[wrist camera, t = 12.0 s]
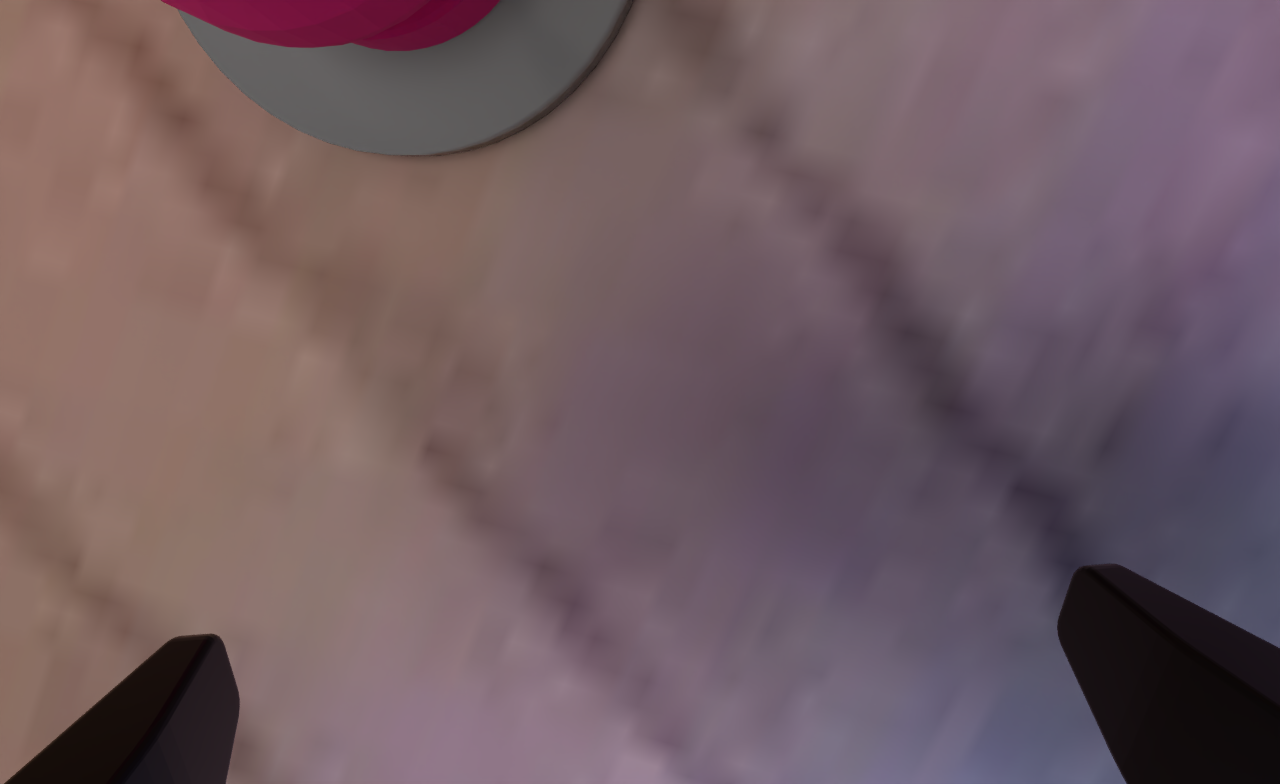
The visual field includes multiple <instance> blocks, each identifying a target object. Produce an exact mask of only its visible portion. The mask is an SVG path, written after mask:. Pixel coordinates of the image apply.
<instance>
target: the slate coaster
mask: <svg viewBox="0 0 1280 784" xmlns="http://www.w3.org/2000/svg"><path fill="white" fill-rule="evenodd" d="M632 2H633V0H500V1H499V2H498V3H497V4H496V6H495V7H494V8H493V9H492V10H491V11H490V12H489V13H488V14H487V15H486V16H485V17H484V18H482V19H481V20H480V21H479V22H478V23H477V24H476V25H474V26H473V27H471V28H469V29H468V30H466V31H465V32H463V33H462V34H460V35H458V36H456V37H454V38H452V39H450V40H448V41H446V42H444V43H441V44H438V45H434V46H431V47H428V48H423V49H417V50H411V51H384V50H378V49H372V48H368V47H364V46H361V45H357V44H354V43H348V44H344V45H338V46H327V47H316V48H296V47H283V46H277V45H271V44H265V43H259V42H255V41H252V40H249V39H247V38H244V37H241V36H238V35H235V34H232V33H229V32H226V31H224V30H222V29H220V28H218V27H215V26H213V25H211V24H209V23H207V22H205V21H203V20H201V19H198V18H196V17H194V16H192V15H190V14H188V13H186V12H183V11H181V10H179V9H178V11H179V13H180V15H181V16H182V18H183V20H184V21H185V23H186V24H187V26H188V28H189V29H190V31H191V32H192V34H193V35H194V37H195V39H196V40H197V42H198V43H199V45H200V46H201V47H202V48H203V50H204V51H205V52H206V53H207V55H208V56H209V57H210V58H211V60H212V61H213V62H214V63H215V64H216V66H217V67H218V68H219V69H220V71H221V72H222V73H223V74H224V75H225V76H226V77H228V78H229V79H230V80H231V81H232V82H233V83H234V84H235V85H236V86H237V87H238V88H239V89H240V90H241V91H242V92H243V93H244V94H245V95H246V96H248V97H249V98H250V99H251V100H253V101H254V102H255V103H257V104H258V105H259V106H261V107H262V108H263V109H264V110H266V111H267V112H268V113H270V114H271V115H273V116H275V117H276V118H278V119H280V120H281V121H283V122H285V123H287V124H288V125H290V126H292V127H293V128H295V129H297V130H299V131H301V132H303V133H306V134H308V135H310V136H313V137H315V138H318V139H320V140H322V141H325V142H327V143H331V144H334V145H338V146H342V147H345V148H349V149H353V150H356V151H363V152H371V153H379V154H387V155H401V156H440V155H446V154H453V153H459V152H465V151H470V150H473V149H476V148H480V147H483V146H486V145H489V144H492V143H496V142H498V141H500V140H502V139H504V138H507V137H509V136H511V135H513V134H515V133H517V132H519V131H521V130H524V129H525V128H527V127H528V126H530V125H531V124H533V123H534V122H536V121H537V120H539V119H540V118H542V117H543V116H545V115H547V114H548V113H550V112H551V111H552V110H553V109H554V108H555V107H557V106H558V105H559V104H560V103H561V102H562V101H563V100H565V99H566V98H567V97H568V96H569V95H570V94H571V93H573V92H574V91H575V90H576V88H577V87H578V86H579V85H580V84H581V83H582V82H583V81H584V79H585V78H586V77H587V76H588V75H589V74H590V73H591V71H592V70H593V69H594V68H595V67H596V66H597V64H598V63H599V61H600V60H601V58H602V57H603V55H604V54H605V52H606V51H607V49H608V48H609V46H610V45H611V43H612V42H613V40H614V39H615V37H616V35H617V33H618V31H619V29H620V27H621V25H622V23H623V21H624V19H625V17H626V15H627V13H628V11H629V9H630V7H631V5H632Z"/></svg>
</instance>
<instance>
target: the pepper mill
mask: <svg viewBox="0 0 1280 784" xmlns="http://www.w3.org/2000/svg"><path fill="white" fill-rule="evenodd" d="M161 1H162V2H164V3H166V4H168V5H171V6H173V7H175V8H177V9H179V10H181V11H183V12H186V13H188V14H190V15H192V16H194V17H196V18H198V19H201V20H203V21H205V22H207V23H209V24H211V25H213V26H215V27H218V28H220V29H222V30H224V31H226V32H229V33H232V34H235V35H238V36H241V37H244V38H247V39H249V40H252V41H255V42H259V43H265V44H271V45H277V46H283V47H296V48H316V47H327V46H338V45H344V44H348V43H354V44H357V45H361V46H364V47H368V48H372V49H378V50H384V51H411V50H417V49H423V48H428V47H431V46H434V45H438V44H441V43H444V42H446V41H448V40H450V39H452V38H454V37H456V36H458V35H460V34H462V33H463V32H465V31H466V30H468V29H469V28H471V27H473V26H474V25H476V24H477V23H478V22H479V21H480V20H481V19H482V18H484V17H485V16H486V15H487V14H488V13H489V12H490V11H491V10H492V9H493V8H494V7H495V6H496V4H497V3H498V2H499V1H500V0H161Z"/></svg>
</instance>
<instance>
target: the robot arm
mask: <svg viewBox="0 0 1280 784" xmlns="http://www.w3.org/2000/svg"><path fill="white" fill-rule="evenodd" d="M1057 630H1058V636H1059V640H1060V643H1061V646H1062V648H1063V650H1064V652H1065V655H1066V657H1067V659H1068V661H1069V663H1070V665H1071V668H1072V670H1073V672H1074V674H1075V676H1076V678H1077V681H1078V683H1079V685H1080V687H1081V689H1082V691H1083V694H1084V696H1085V698H1086V700H1087V702H1088V705H1089V707H1090V709H1091V711H1092V713H1093V715H1094V718H1095V720H1096V722H1097V724H1098V726H1099V728H1100V731H1101V733H1102V735H1103V737H1104V739H1105V741H1106V744H1107V746H1108V748H1109V750H1110V752H1111V754H1112V756H1113V758H1114V760H1115V762H1116V764H1117V766H1118V768H1119V770H1120V772H1121V774H1122V776H1123V778H1124V779H1125V781H1126V783H1127V784H1280V648H1278V647H1276V646H1274V645H1272V644H1270V643H1269V642H1267V641H1265V640H1263V639H1261V638H1259V637H1257V636H1255V635H1253V634H1251V633H1249V632H1247V631H1246V630H1244V629H1242V628H1240V627H1238V626H1236V625H1234V624H1232V623H1230V622H1228V621H1226V620H1224V619H1223V618H1221V617H1219V616H1217V615H1215V614H1213V613H1211V612H1209V611H1207V610H1205V609H1203V608H1201V607H1200V606H1198V605H1196V604H1194V603H1192V602H1190V601H1188V600H1186V599H1184V598H1182V597H1180V596H1178V595H1177V594H1175V593H1173V592H1171V591H1169V590H1167V589H1165V588H1163V587H1161V586H1159V585H1157V584H1155V583H1154V582H1152V581H1150V580H1148V579H1146V578H1144V577H1142V576H1140V575H1138V574H1136V573H1134V572H1132V571H1131V570H1129V569H1127V568H1125V567H1123V566H1121V565H1117V564H1098V565H1086V566H1082V567H1079V568H1078V569H1077V570H1076V571H1075V572H1074V574H1073V576H1072V579H1071V582H1070V585H1069V588H1068V591H1067V594H1066V597H1065V600H1064V603H1063V606H1062V609H1061V612H1060V615H1059V618H1058V625H1057ZM239 708H240V699H239V692H238V688H237V685H236V681H235V678H234V675H233V671H232V668H231V665H230V662H229V658H228V655H227V652H226V648H225V645H224V643H223V641H222V639H221V638H220V637H219V636H217V635H215V634H200V635H187V636H178V637H175V638H173V639H171V640H169V641H168V642H166V643H165V644H164V645H163V646H162V647H161V648H159V649H158V650H157V651H156V652H155V653H154V654H153V655H151V656H150V657H149V658H148V659H147V660H146V661H144V662H143V663H142V664H141V665H140V666H139V667H138V668H136V669H135V670H134V671H133V672H132V673H131V674H130V675H128V676H127V677H126V678H125V679H124V680H123V681H121V682H120V683H119V684H118V685H117V686H116V687H115V688H113V689H112V690H111V691H110V692H109V693H108V694H107V695H105V696H104V697H103V698H102V699H101V700H100V701H98V702H97V703H96V704H95V705H94V706H93V707H92V708H90V709H89V710H88V711H87V712H86V713H85V714H84V715H82V716H81V717H80V718H79V719H78V720H77V721H75V722H74V723H73V724H72V725H71V726H70V727H69V728H67V729H66V730H65V731H64V732H63V733H62V734H61V735H59V736H58V737H57V738H56V739H55V740H54V741H52V742H51V743H50V744H49V745H48V746H47V747H46V748H44V749H43V750H42V751H41V752H40V753H39V754H38V755H36V756H35V757H34V758H33V759H32V760H31V761H29V762H28V763H27V764H26V765H25V766H24V767H23V768H21V769H20V770H19V771H18V772H17V773H16V774H15V775H13V776H12V777H11V778H10V779H9V780H8V781H6V782H5V783H4V784H226V779H227V774H228V769H229V764H230V758H231V753H232V748H233V743H234V738H235V733H236V728H237V723H238V717H239Z"/></svg>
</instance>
